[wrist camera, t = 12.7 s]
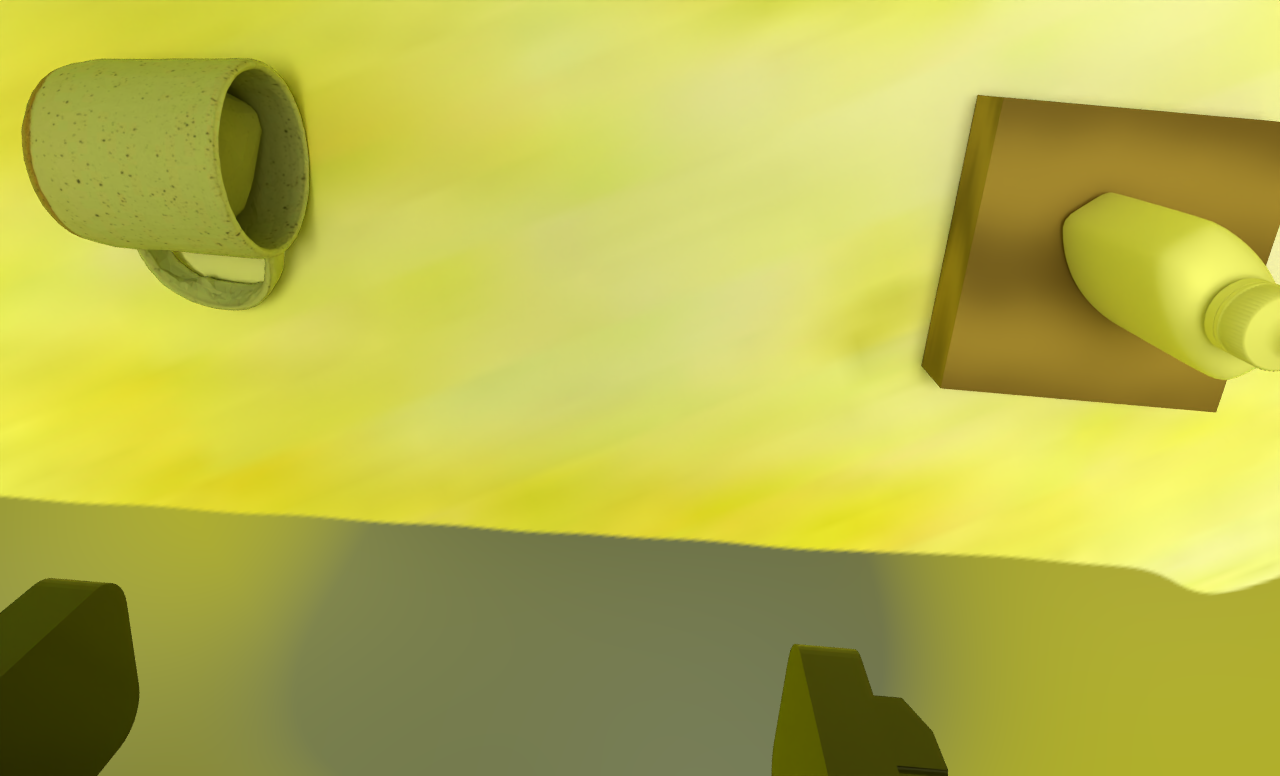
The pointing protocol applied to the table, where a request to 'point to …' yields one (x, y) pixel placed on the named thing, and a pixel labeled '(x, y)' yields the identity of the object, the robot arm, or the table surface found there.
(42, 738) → the robot arm
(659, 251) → the table surface
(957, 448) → the table surface
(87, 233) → the ceramic mug
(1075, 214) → the squeeze bottle
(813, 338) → the table surface
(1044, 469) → the table surface
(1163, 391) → the walnut plinth
